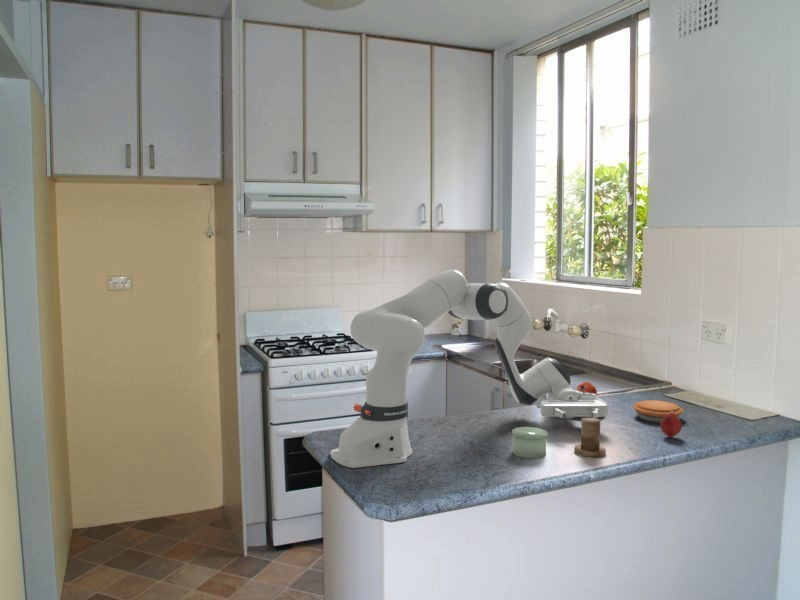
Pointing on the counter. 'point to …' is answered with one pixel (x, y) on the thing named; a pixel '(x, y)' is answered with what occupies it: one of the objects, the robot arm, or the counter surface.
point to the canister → (529, 442)
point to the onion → (671, 425)
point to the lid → (590, 439)
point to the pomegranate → (587, 388)
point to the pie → (656, 410)
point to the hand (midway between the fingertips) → (579, 415)
